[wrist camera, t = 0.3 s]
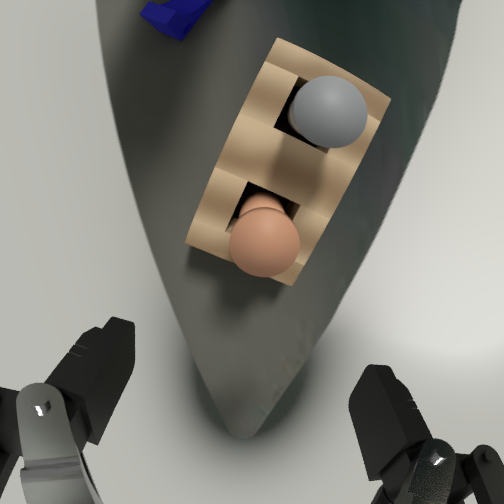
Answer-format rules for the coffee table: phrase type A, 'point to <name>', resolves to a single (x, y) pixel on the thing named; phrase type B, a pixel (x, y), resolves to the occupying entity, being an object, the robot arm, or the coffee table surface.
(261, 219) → the terracotta plunger
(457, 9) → the coffee table surface
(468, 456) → the robot arm
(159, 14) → the cable clip
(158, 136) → the coffee table surface
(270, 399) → the coffee table surface
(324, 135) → the grey plunger
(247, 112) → the oak board
